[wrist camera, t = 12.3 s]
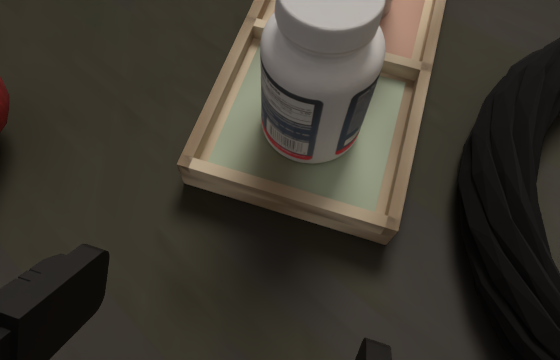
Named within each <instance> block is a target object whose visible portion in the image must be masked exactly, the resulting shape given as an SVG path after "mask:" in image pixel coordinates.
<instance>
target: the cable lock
mask: <svg viewBox="0 0 560 360" xmlns="http://www.w3.org/2000/svg"><path fill="white" fill-rule="evenodd" d="M559 112H560V38H559V39H557V40H555V41H553V42H552V43H550V44H548V45H547V46H545V47H544V48H543V49H540V50H538V51H535V52H532V53H531V54H529V55H528V56H526V57H525V58H523V59H522V60H520V61H519V62H517V63H516V64H514V65H513V66H511V68H510V69H509V71H508V73H507V75H506V76H504V77H503V78H502V79H501V80H500V81H499V83H498V84H497V85H496V86H495V87H494V89H493V90H492V91H491V92H490V93H489V95H488V96H487V97H486V99H485V101H484V103H483V104H482V107H481V109H480V112H479V115H478V117H477V120H476V123H475V125H474V127H473V129H472V131H471V133H470V135H469V137H468V138H467V140H466V142H465V144H464V147H463V153H462V159H461V166H460V172H459V178H458V183H459V188H458V194H459V211H460V228H461V234H462V238H463V241H464V245H465V248H466V251H467V255H468V258H469V261H470V265H471V268H472V272H473V277H474V285H475V290H476V292H477V294H478V296H479V298H480V300H481V302H482V304H483V307H484V309H485V311H486V313H487V315H488V317H489V319H490V321H491V323H492V325H493V328H494V330H495V332H496V334H497V336H498V338H499V340H500V342H501V344H502V346H503V348H504V349H505V350H506V352H507V353H508V354H509V356H510V357H511V358H512V360H560V273H559V271H558V269H557V267H556V265H555V263H554V261H553V259H552V257H551V253H550V249H549V245H548V241H547V237H546V232H545V228H544V224H543V220H542V216H541V212H540V208H539V204H538V196H537V187H536V182H537V175H538V169H539V162H540V156H541V149H542V143H543V139H544V135H545V133H546V131H547V130H548V128H549V127H550V125H551V124H552V122H553V121H554V119H555V118H556V116H557V115H558V113H559Z"/></svg>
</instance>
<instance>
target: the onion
mask: <svg viewBox="0 0 560 360" xmlns="http://www.w3.org/2000/svg"><path fill="white" fill-rule="evenodd" d="M8 111H9V94H8V92H7V89H6V87H5V85H4V83H3V80H2V79H1V77H0V132H1V131H2V129H3V128H4V126H5V125H6V123H7V117H8Z"/></svg>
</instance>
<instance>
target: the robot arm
mask: <svg viewBox="0 0 560 360" xmlns="http://www.w3.org/2000/svg"><path fill="white" fill-rule="evenodd" d="M108 265H109V252H108V251H106V250H103V249H100V248H97V247H94V246H91V245H87V244H82V245H80V246H79V247H77V248H76V249H75V250H73V251H72V252H70V253H69V254H68V255H64V254H59V255H56V256H53V257H50V258H47V259H44V260H42V261H40V262H39V263H38V264H36V265H35V266H33V267H32V268H30V270H29V271H26V272H24V273H23V274H21V275H20V276H18V279H14V280H13V281H11V282H10V283H8V284H7V285H5V286H4V287H2V288H1V289H0V360H49V359H50V358H51V357H52V356H53V355H54V354H55V353H56V352H57V351H58V350H59V349H60V348H61V347H62V346H63V345H64V344H65V343H66V342H67V341H68V340H69V339H70V338H71V337H72V336H73V335H74V334H75V333H76V332H77V331H78V330H79V329H80V328H81V327H82V326H83V325H84V324H85V323H86V322H87V321H88V320H89V319H90V318H91V317H92V316H93V315H94V314H95V313H96V312H97V310H98V309H99V307H100V305H101V303H102V301H103V298H104V295H105V289H106V281H107V273H108ZM355 360H392V355H391V347H390V346H389V345H386V344H383V343H380V342H377V341H374V340H371V339H368V338H364V339H363V341H362V343H361V346H360V348H359V351H358V354H357V356H356V359H355Z"/></svg>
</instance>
